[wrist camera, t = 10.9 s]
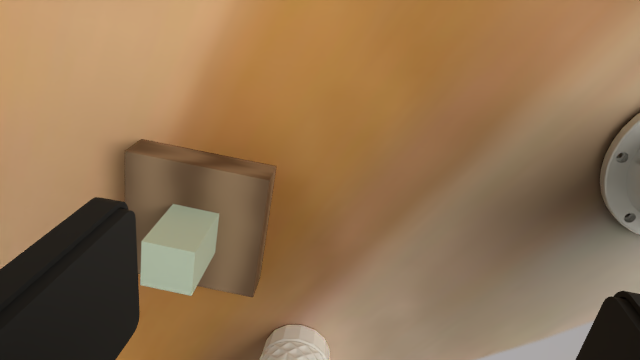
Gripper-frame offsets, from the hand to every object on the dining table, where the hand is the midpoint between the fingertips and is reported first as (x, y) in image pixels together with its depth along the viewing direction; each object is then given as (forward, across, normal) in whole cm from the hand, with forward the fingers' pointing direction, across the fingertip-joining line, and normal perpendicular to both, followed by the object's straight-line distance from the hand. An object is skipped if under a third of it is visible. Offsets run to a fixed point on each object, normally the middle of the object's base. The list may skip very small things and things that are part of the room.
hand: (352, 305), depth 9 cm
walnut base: (+29, +13, +16) cm, 35 cm away
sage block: (+26, +13, +16) cm, 33 cm away
